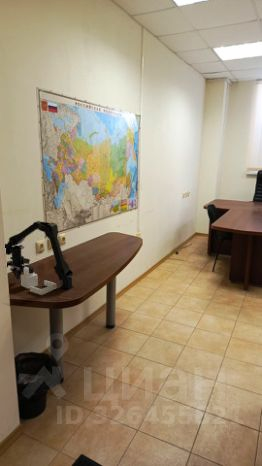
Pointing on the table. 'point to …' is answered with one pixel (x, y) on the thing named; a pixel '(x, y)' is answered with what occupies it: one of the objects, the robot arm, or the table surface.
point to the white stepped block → (29, 277)
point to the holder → (42, 291)
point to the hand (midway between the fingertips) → (18, 279)
